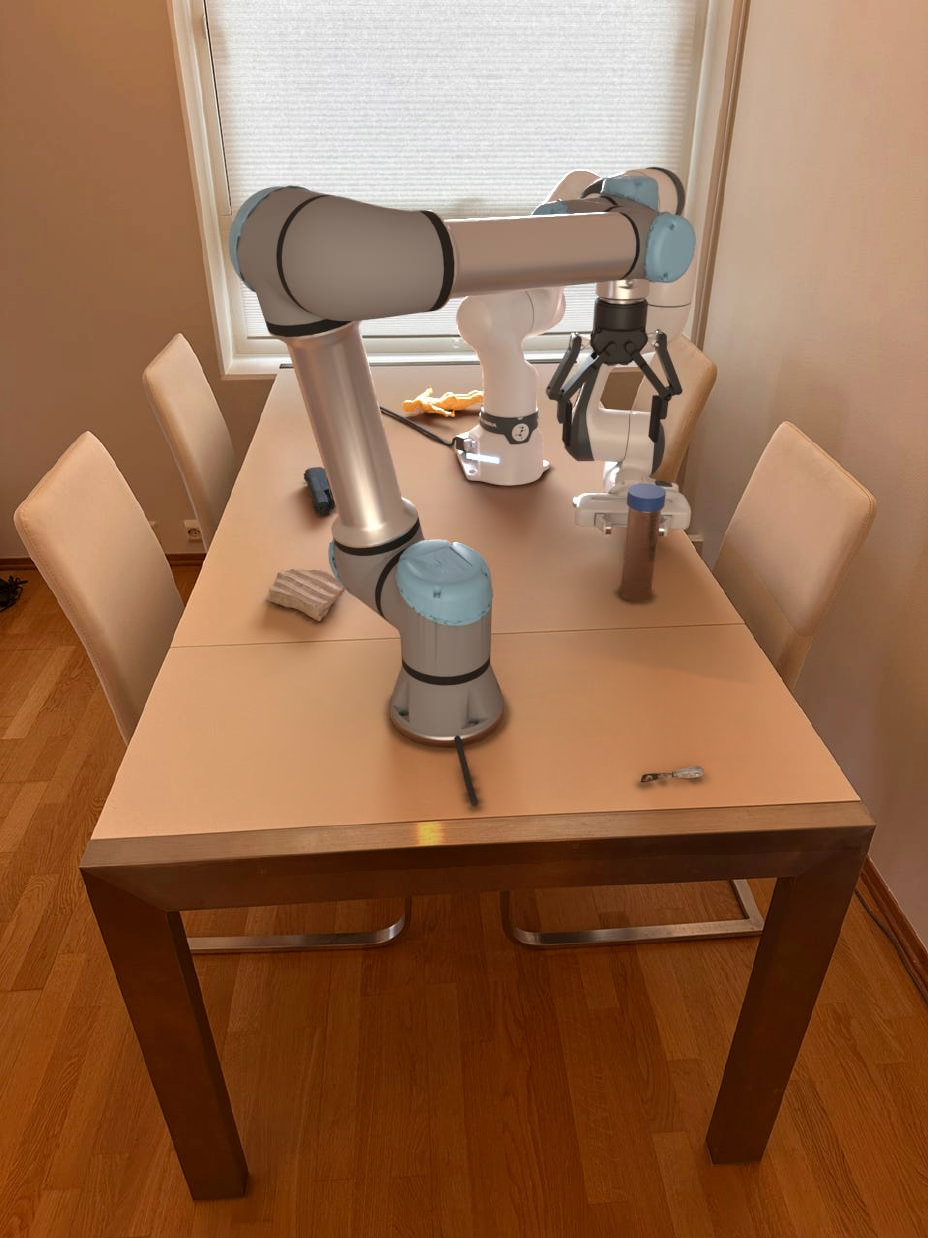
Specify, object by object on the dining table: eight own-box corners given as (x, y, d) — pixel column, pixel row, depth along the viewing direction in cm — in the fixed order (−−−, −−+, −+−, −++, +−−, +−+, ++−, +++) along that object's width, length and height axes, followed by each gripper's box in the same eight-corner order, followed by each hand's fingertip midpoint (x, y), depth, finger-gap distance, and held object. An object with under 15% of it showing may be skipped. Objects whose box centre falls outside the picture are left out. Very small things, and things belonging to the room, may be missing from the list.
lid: (629, 494, 142) (631, 481, 141) (666, 498, 140) (668, 485, 139) (623, 509, 137) (624, 496, 136) (661, 513, 136) (663, 500, 134)
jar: (622, 585, 150) (632, 485, 141) (652, 589, 149) (664, 489, 139) (617, 599, 146) (627, 497, 136) (648, 604, 145) (660, 502, 135)
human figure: (395, 413, 223) (394, 398, 221) (438, 390, 237) (438, 375, 235) (462, 429, 215) (462, 413, 213) (502, 404, 229) (503, 388, 227)
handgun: (374, 509, 176) (313, 517, 173) (359, 474, 190) (302, 481, 188) (373, 494, 174) (311, 502, 172) (358, 460, 188) (301, 466, 186)
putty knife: (703, 777, 109) (705, 767, 109) (642, 788, 108) (644, 777, 107) (700, 772, 110) (702, 762, 109) (639, 782, 109) (640, 771, 108)
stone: (357, 587, 149) (356, 574, 148) (321, 622, 140) (319, 608, 139) (291, 573, 154) (290, 560, 152) (252, 607, 144) (250, 593, 143)
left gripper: (538, 306, 122) (533, 453, 133) (716, 301, 124) (696, 446, 135) (530, 294, 128) (525, 435, 139) (699, 289, 130) (681, 429, 141)
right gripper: (573, 480, 164) (575, 513, 152) (686, 483, 162) (697, 516, 150) (571, 512, 167) (572, 546, 155) (682, 515, 165) (692, 550, 154)
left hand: (609, 441), depth 137 cm, fingers open, 13 cm apart
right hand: (635, 531), depth 153 cm, fingers open, 8 cm apart
